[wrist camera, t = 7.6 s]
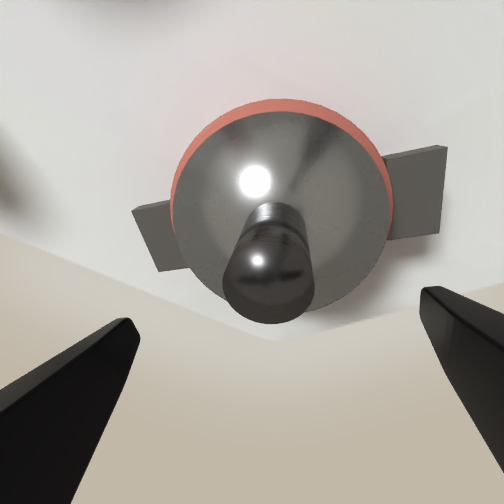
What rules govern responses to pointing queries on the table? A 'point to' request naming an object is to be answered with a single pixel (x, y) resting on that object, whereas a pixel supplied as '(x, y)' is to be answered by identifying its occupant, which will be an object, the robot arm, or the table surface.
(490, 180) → the table surface
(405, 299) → the table surface
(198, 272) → the lid
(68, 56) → the table surface
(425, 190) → the pot
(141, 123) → the table surface
